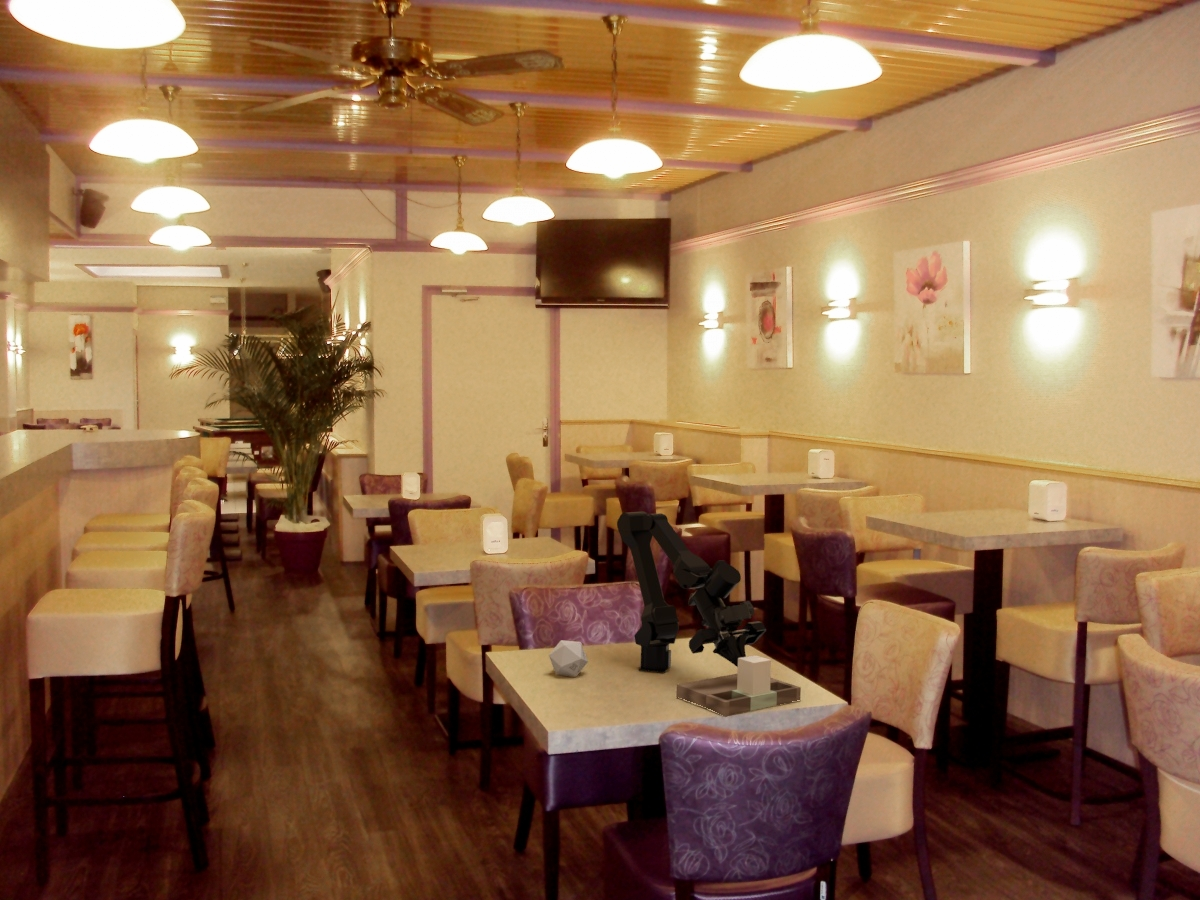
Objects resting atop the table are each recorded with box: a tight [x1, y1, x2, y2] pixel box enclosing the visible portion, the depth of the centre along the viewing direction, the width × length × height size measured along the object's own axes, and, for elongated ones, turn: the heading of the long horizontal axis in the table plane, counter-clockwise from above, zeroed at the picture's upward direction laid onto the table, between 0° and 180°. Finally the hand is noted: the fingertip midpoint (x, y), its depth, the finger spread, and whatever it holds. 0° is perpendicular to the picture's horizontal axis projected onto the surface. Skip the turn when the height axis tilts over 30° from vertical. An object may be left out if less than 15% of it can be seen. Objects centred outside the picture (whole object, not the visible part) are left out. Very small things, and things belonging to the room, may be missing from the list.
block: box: [736, 654, 772, 695], centre depth 235 cm, size 5×5×7 cm
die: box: [548, 639, 589, 678], centre depth 258 cm, size 8×9×10 cm
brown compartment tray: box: [675, 673, 802, 717], centre depth 239 cm, size 16×22×3 cm
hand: (745, 669), depth 237 cm, fingers closed, pressing on block
